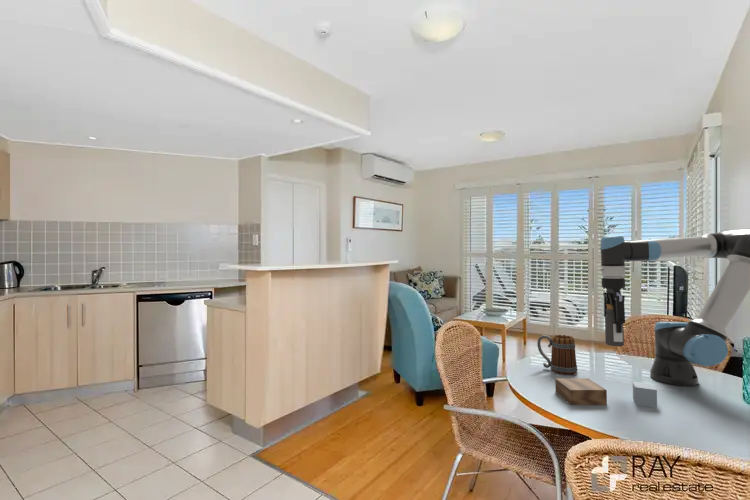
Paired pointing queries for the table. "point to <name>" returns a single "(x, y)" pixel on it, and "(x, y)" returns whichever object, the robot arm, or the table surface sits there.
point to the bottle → (611, 328)
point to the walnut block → (581, 391)
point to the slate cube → (645, 394)
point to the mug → (560, 354)
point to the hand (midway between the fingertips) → (614, 339)
